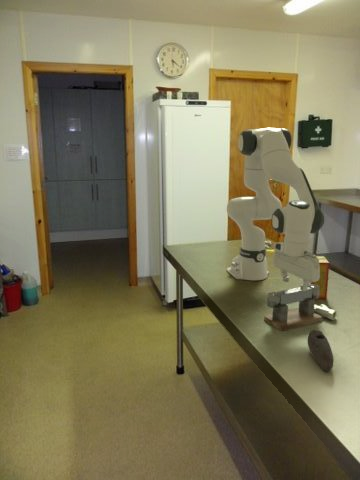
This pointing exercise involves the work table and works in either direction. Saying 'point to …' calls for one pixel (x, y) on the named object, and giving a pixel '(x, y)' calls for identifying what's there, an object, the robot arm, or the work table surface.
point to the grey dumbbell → (292, 296)
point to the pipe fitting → (324, 311)
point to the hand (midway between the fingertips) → (294, 285)
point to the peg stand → (293, 316)
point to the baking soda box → (322, 277)
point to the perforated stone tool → (320, 350)
